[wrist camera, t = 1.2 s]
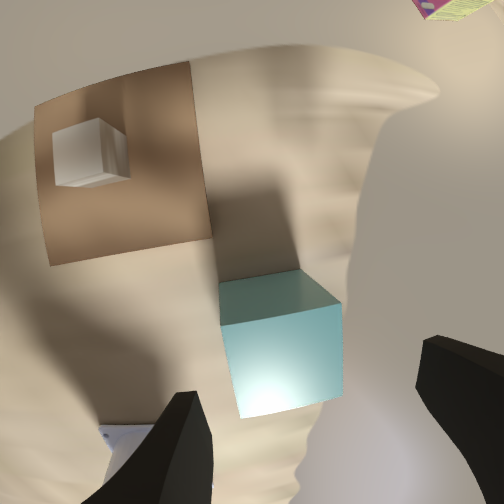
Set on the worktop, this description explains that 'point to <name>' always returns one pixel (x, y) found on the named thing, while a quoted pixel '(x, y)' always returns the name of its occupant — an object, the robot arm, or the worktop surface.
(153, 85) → the post board
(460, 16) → the box
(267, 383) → the teal rectangular block
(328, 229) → the worktop surface
